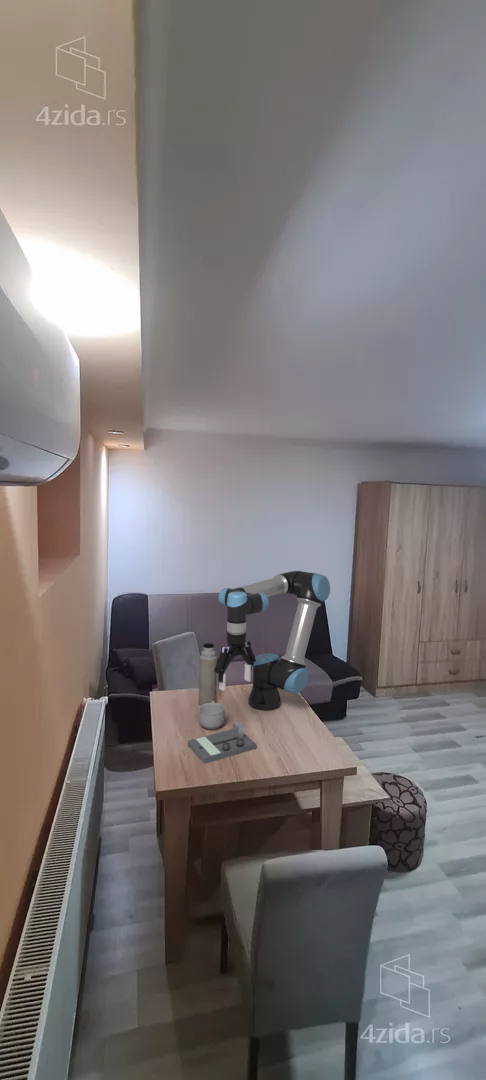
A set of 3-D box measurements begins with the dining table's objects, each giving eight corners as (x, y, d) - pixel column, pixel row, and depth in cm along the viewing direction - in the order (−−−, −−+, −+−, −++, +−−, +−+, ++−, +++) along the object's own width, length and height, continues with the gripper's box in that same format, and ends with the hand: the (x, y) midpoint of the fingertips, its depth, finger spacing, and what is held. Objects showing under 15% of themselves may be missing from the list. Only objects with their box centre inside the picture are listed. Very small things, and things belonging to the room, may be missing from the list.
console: (237, 732, 188) (237, 723, 188) (256, 748, 176) (256, 739, 176) (187, 745, 177) (188, 735, 176) (203, 763, 165) (204, 753, 164)
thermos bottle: (216, 700, 218) (218, 642, 216) (215, 707, 210) (216, 647, 208) (199, 699, 218) (200, 641, 216) (197, 706, 210) (199, 646, 208)
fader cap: (237, 733, 182) (238, 721, 182) (243, 739, 178) (243, 726, 178) (232, 735, 181) (232, 722, 181) (238, 740, 177) (238, 727, 177)
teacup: (220, 734, 186) (221, 714, 186) (194, 730, 189) (195, 711, 188) (228, 718, 200) (229, 700, 199) (204, 715, 202) (204, 697, 202)
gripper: (252, 624, 190) (250, 674, 192) (205, 635, 173) (204, 690, 175) (265, 628, 185) (263, 679, 187) (218, 640, 168) (217, 697, 170)
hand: (235, 685), depth 181 cm, fingers open, 13 cm apart
